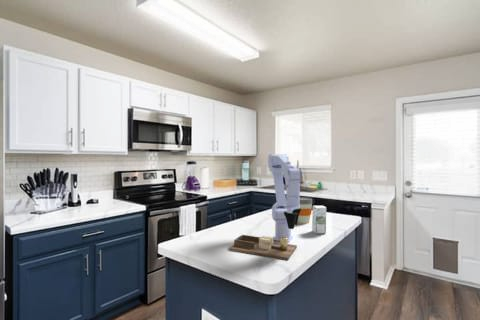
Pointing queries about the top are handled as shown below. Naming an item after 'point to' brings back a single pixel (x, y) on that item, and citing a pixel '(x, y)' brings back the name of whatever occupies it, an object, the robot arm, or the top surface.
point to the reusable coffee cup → (305, 210)
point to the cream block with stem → (267, 243)
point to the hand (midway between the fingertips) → (292, 226)
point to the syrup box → (319, 220)
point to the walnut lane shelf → (252, 247)
